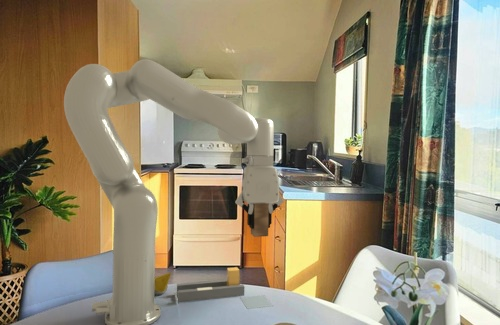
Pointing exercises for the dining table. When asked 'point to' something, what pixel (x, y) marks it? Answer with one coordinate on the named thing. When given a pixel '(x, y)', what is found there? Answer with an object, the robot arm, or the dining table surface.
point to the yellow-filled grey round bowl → (161, 283)
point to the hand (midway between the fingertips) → (259, 226)
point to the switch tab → (232, 276)
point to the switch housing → (207, 290)
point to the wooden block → (260, 220)
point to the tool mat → (256, 302)
